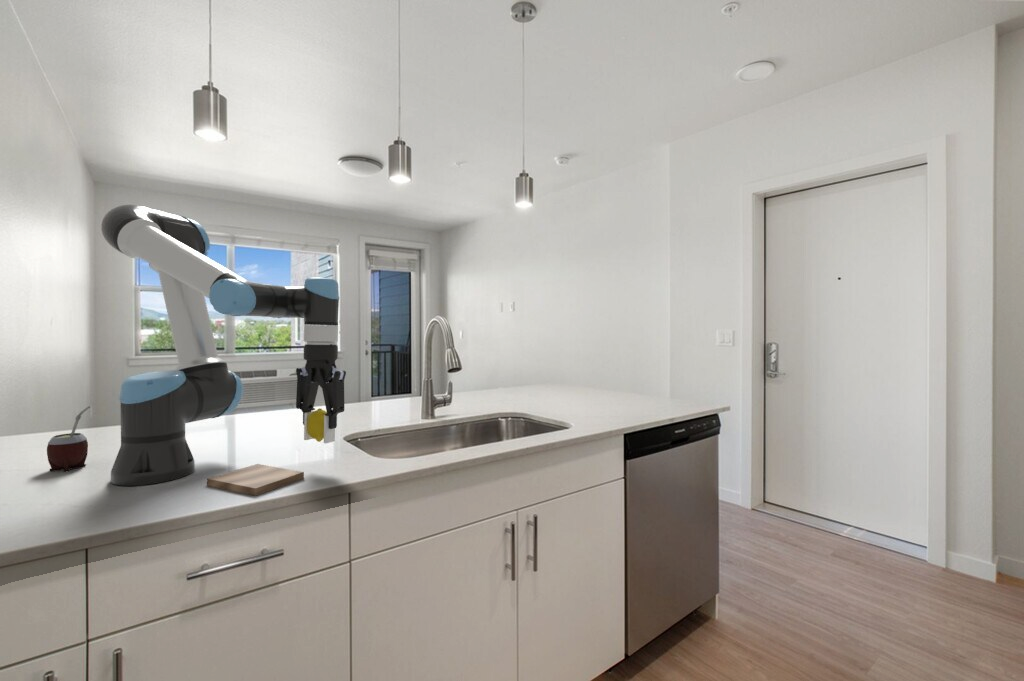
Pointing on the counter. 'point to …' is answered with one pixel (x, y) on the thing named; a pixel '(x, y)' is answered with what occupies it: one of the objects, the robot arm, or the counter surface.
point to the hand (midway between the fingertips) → (319, 440)
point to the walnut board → (255, 479)
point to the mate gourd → (68, 449)
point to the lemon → (316, 424)
